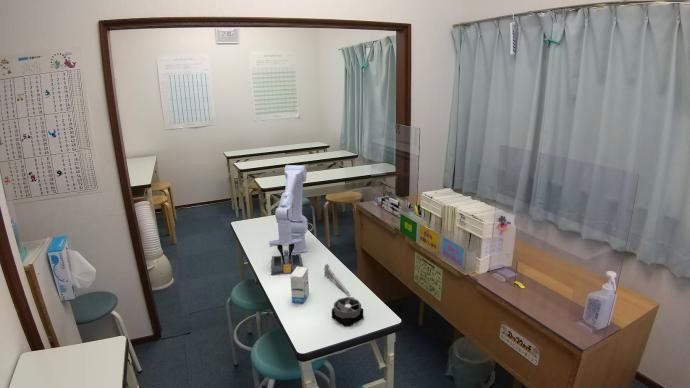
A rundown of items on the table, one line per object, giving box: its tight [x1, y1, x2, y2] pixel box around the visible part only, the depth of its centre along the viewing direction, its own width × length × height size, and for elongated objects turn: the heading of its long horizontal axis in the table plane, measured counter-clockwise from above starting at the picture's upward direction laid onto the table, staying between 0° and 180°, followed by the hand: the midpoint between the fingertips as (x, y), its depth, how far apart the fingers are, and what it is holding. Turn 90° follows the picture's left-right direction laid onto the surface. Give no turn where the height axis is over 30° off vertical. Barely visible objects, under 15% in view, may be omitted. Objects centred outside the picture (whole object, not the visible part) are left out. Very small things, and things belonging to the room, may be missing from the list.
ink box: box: [289, 266, 310, 304], centre depth 159 cm, size 9×5×12 cm, turn 168°
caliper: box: [323, 263, 351, 297], centre depth 169 cm, size 21×1×6 cm, turn 31°
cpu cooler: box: [331, 296, 364, 327], centre depth 147 cm, size 10×6×10 cm
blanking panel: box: [283, 249, 289, 264], centre depth 186 cm, size 8×2×6 cm, turn 10°
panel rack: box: [270, 253, 304, 276], centre depth 186 cm, size 14×15×5 cm
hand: (286, 258), depth 185 cm, fingers open, 2 cm apart
